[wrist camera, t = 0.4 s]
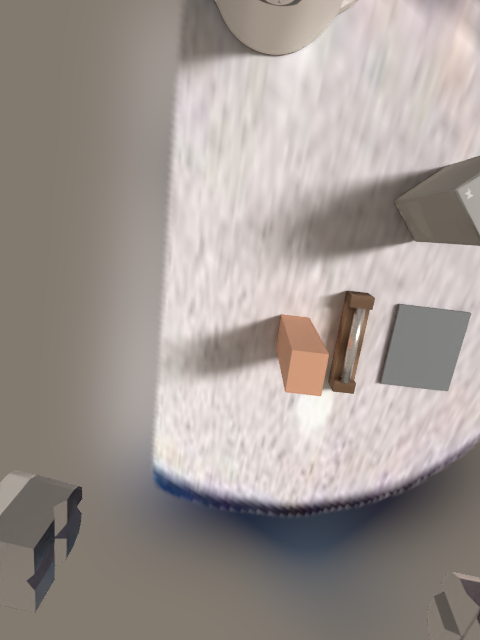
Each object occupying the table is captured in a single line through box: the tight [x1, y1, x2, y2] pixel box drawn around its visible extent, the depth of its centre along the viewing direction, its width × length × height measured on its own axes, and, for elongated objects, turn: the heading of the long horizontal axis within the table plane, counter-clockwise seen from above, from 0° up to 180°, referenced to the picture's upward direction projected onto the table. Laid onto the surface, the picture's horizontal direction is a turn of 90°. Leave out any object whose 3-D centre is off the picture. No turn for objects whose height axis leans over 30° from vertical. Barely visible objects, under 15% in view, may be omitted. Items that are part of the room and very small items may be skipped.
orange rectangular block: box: [276, 314, 329, 396], centre depth 49 cm, size 5×4×14 cm
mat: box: [380, 304, 471, 391], centre depth 56 cm, size 12×10×1 cm
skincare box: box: [394, 156, 480, 246], centre depth 43 cm, size 8×7×16 cm
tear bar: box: [329, 291, 375, 394], centre depth 54 cm, size 14×3×3 cm, turn 173°
